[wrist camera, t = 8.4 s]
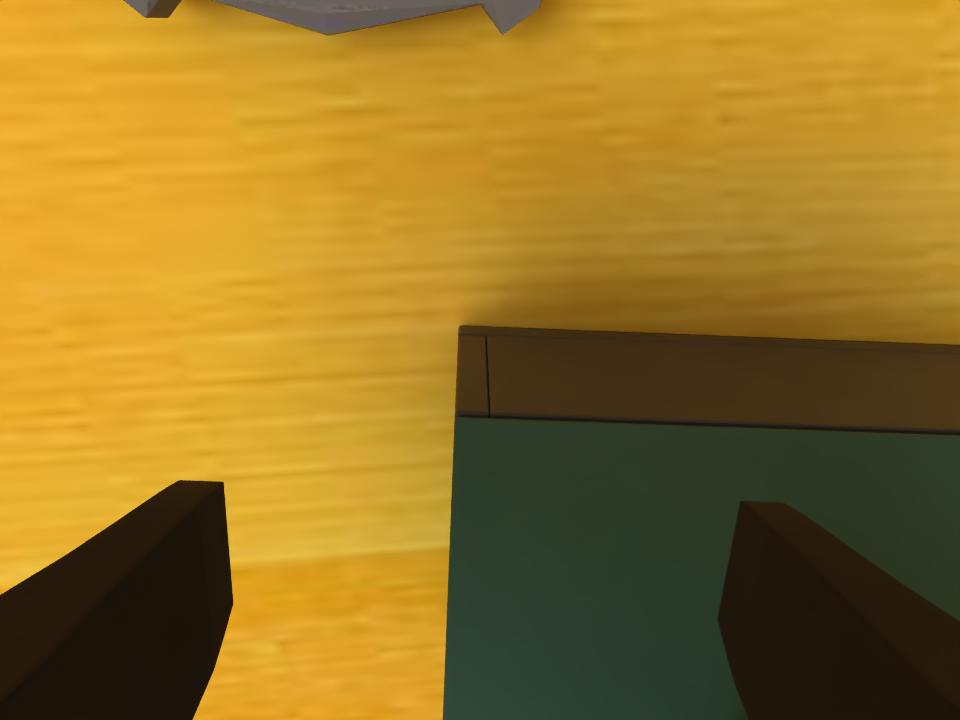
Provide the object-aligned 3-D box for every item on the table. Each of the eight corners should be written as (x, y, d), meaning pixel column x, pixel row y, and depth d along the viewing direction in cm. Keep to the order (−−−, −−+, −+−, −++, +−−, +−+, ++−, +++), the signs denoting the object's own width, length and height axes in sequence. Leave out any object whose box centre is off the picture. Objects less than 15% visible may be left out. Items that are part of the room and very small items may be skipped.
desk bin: (915, 631, 25) (1021, 774, 20) (448, 616, 25) (442, 759, 20) (1003, 345, 22) (1156, 437, 17) (458, 324, 21) (455, 411, 16)
